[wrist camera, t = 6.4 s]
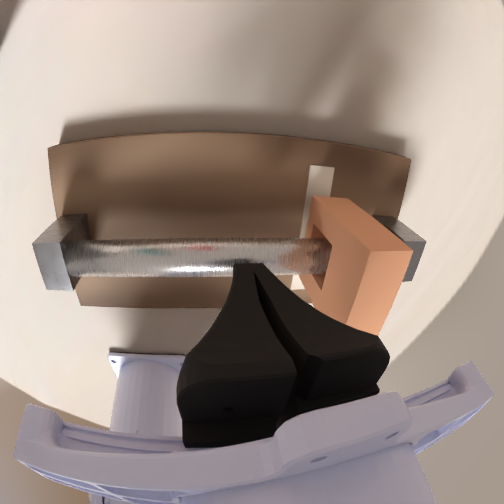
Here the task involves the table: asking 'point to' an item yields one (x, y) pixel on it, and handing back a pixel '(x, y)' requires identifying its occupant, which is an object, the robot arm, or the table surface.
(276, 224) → the board
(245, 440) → the robot arm
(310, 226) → the collar
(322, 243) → the pipe stand
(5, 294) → the table surface
